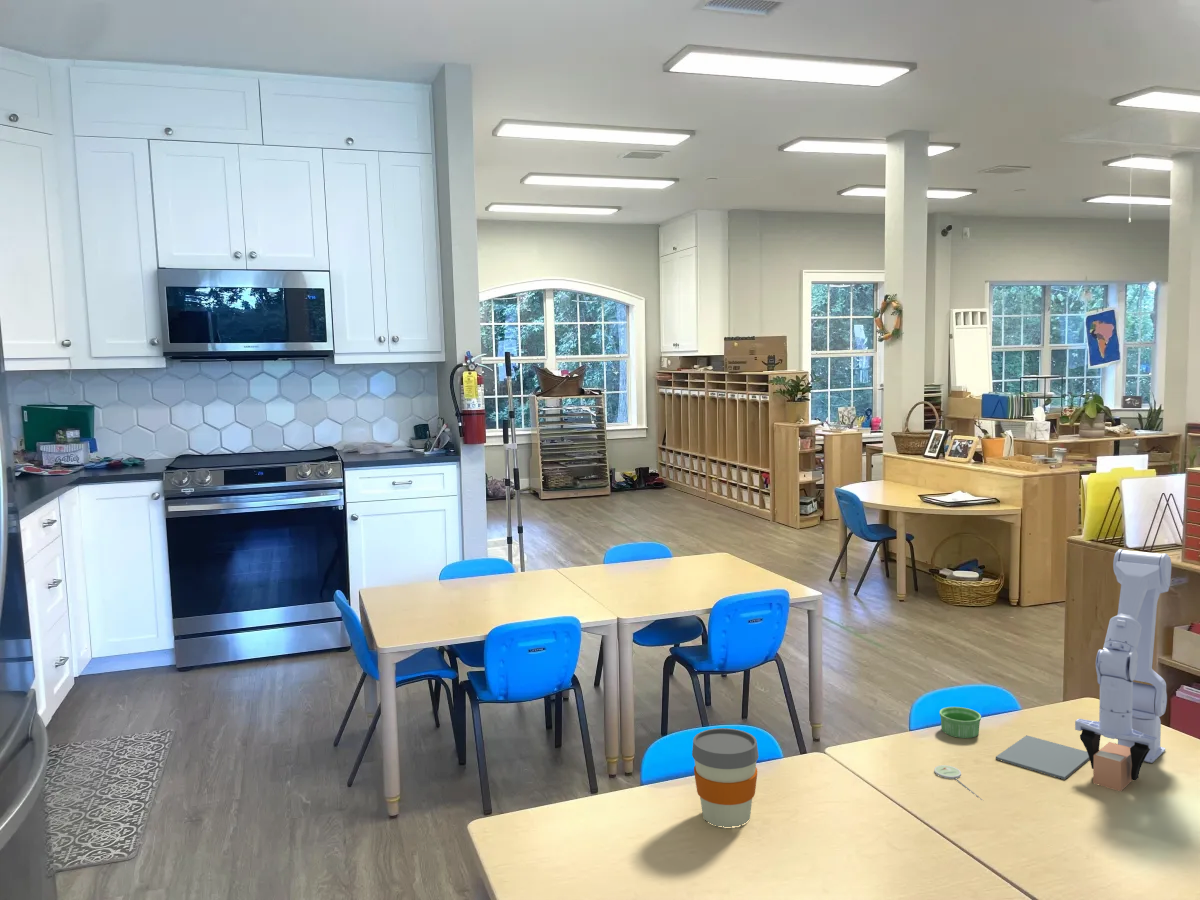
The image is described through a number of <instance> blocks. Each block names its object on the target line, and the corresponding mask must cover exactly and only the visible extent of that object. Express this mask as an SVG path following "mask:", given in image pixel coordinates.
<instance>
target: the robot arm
mask: <svg viewBox="0 0 1200 900" xmlns="http://www.w3.org/2000/svg"><path fill="white" fill-rule="evenodd" d="M1112 563H1113V564H1112V567H1113V573H1114V575H1115V577H1116V582H1117V583H1119V584H1120V592H1119V600H1118V610H1117V615H1115V616H1112V617H1111V618H1110V619H1109V622H1108V626H1107V631H1106V634H1105V638H1104V644H1103V647H1102V649H1101V648H1100V649H1098V650H1097V653H1096V657H1095V670H1096V675H1097V676H1096V677H1097V679H1096V680H1097V684H1098V685H1099V713H1098V714H1099V717H1098V718H1099V721H1098V720H1096V721H1095V720H1089V719H1083V718H1078V719H1076V720H1075V722H1074V723H1075V725H1074V726H1075V727H1074V730H1075V731H1078V732H1081V734H1080V735H1079V739H1080V740H1081V743H1082V744H1083V745H1084V748H1085V751H1087V752H1088V755H1089V758H1090V759H1089V762H1090V765H1091V769H1092V770H1093V765H1094V754H1095V753H1097V752H1098V751H1099V750H1100V744H1101V737H1105V738H1107V739H1110V740H1112V739H1113V740H1117V744H1119V745H1123V746H1127V747H1131V748H1130V753H1131V761H1132V769H1131V780H1132V781H1133V782H1135V781H1137V780H1138V779H1139V776H1140V772H1141V768H1142V765H1143V764H1144V762H1145V763H1149V764H1153V763H1154V762H1155V761H1156V760H1157V759H1158V758H1159V757H1160V756H1161V755H1162V754H1164V752H1165V751H1166V748H1165V747H1162V746H1161V733H1162V732H1161V731H1162V730H1161V728H1162V727H1161V726H1162V724H1161V723H1162V722H1161V718H1160V717H1162V716H1163V715H1164V714H1165V713H1166V709H1167V704H1168V693H1167V683H1166V681H1165V679H1164V678H1163V677H1162V676H1161V675H1160V674H1158V673H1157V672H1156V671H1155V670H1154V669H1153V661H1154V651H1155V650H1154V646H1155V634H1156V624H1157V613H1158V612H1157V609H1158V608H1157V607H1158V601H1159V598H1160V596H1161V594H1164V593H1167V592H1169V588H1170V587H1171V578H1172V576H1171V575H1172V560H1171V557H1170V556H1169V554H1168V553H1165V552H1164V553H1157V552H1146V551H1138V550H1137V551H1134V550H1128V549H1127V550H1125V549H1123V548H1119V549H1118V550H1116V552H1115V553H1114V556H1113V562H1112ZM1136 681H1137V682H1136ZM1141 682H1142V683H1141ZM1143 682H1144V683H1143Z"/></svg>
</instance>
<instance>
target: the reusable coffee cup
mask: <svg viewBox="0 0 1200 900" xmlns="http://www.w3.org/2000/svg"><path fill="white" fill-rule="evenodd" d="M692 739H693V740H692V751H691V754H692V755H691V756H692V758H693V761H694V766H693V773H694V780H695V787H696V793H697V795H698V796H699V799H700V805H701V812H702V818H703V817H704V818H703V820H704V819H705V820H706V821H708V822H709V823H711V824H713V825H716V826H722V827H723V826H724V827H732V826H739V825H742V824H744V823H746V822H747V821H748V820H749V819H750V820H751V813H752V812H751V811H752V804H753V798H755V795H756V787H757V777H758V768H757V761H758V759H759V748H758V742H757V739H756V737H755V736H754V735H753V734H751V733H749V732H746V731H744V730H740V729H737V728H736V729H735V728H727V727H726V728H723V727H721V728H719V727H718V728H710V729H707V730H703V731H700V732H699V733H697V734H696V735H695V736H694V737H693V738H692ZM705 820H704V821H705ZM750 820H749V821H750ZM706 821H705V822H706Z"/></svg>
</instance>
